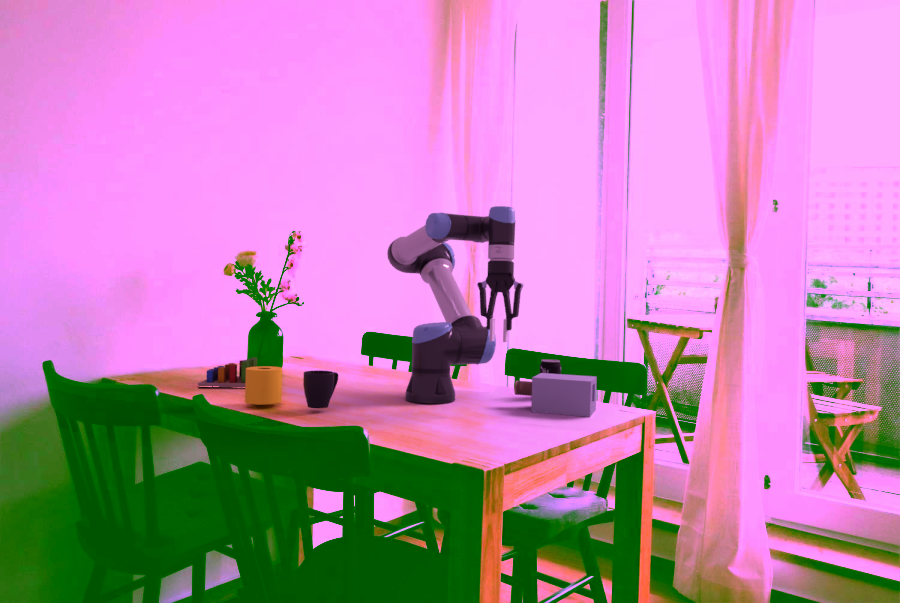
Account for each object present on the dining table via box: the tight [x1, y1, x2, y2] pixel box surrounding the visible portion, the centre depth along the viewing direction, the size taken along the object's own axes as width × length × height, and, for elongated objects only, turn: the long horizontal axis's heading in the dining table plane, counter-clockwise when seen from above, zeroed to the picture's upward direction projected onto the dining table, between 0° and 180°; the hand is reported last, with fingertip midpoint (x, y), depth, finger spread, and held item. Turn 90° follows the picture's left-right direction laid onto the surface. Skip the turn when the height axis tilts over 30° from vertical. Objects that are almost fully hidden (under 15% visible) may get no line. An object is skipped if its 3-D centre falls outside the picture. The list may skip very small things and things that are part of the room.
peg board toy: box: [197, 357, 258, 387], centre depth 225 cm, size 18×17×9 cm
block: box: [530, 372, 598, 418], centre depth 189 cm, size 16×12×10 cm
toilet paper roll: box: [244, 365, 283, 406], centre depth 191 cm, size 10×10×9 cm
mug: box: [303, 370, 339, 409], centre depth 186 cm, size 8×12×10 cm
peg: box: [513, 380, 532, 397], centre depth 191 cm, size 12×4×4 cm, turn 71°
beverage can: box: [539, 359, 562, 374], centre depth 210 cm, size 7×7×12 cm
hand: (498, 341), depth 195 cm, fingers open, 3 cm apart
